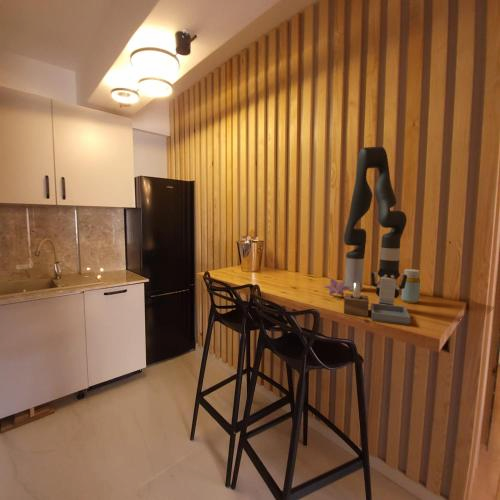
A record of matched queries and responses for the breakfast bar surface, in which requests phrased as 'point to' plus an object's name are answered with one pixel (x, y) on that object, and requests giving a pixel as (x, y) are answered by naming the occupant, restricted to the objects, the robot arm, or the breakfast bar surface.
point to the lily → (337, 287)
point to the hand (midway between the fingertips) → (386, 296)
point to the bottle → (411, 287)
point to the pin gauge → (356, 290)
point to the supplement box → (387, 291)
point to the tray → (389, 314)
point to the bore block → (356, 305)
